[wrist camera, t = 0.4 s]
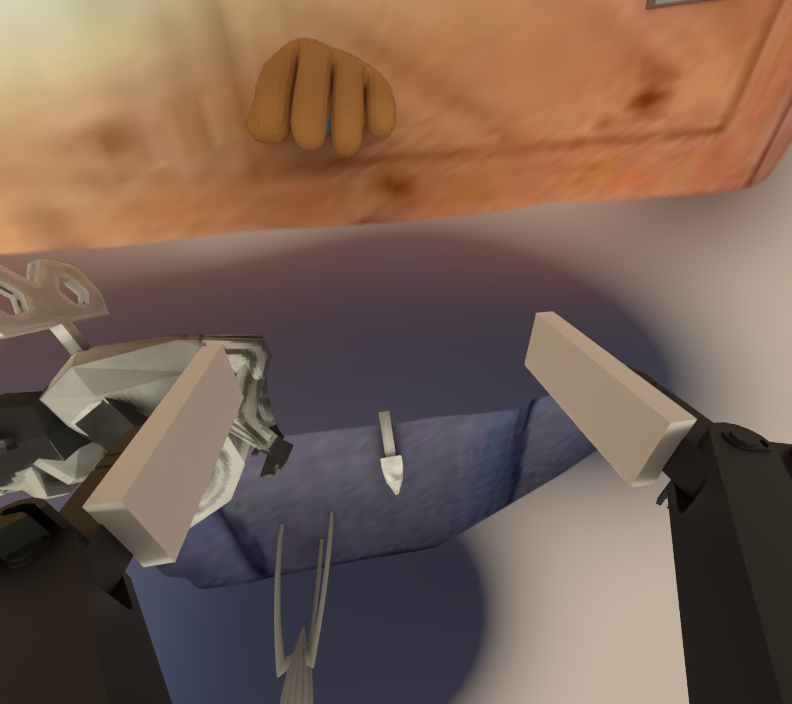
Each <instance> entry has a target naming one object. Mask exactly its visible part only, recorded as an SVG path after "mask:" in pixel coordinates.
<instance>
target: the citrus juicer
mask: <svg viewBox="0 0 792 704" xmlns="http://www.w3.org/2000/svg"><path fill="white" fill-rule="evenodd" d="M333 519H334V512H333V511H331V512H330V520H329V533H328V543H327V553H326V562H325V570H324V578H323V585H322V592H321V599H320V605H319V611H318V617H317V623H316V628H315V621H316V613H317V604H318V595H319V586H320V576H321V566H322V554H323V539H320V546H319V558H318V569H317V580H316V589H315V598H314V607H313V616H312V623H311V630H310V638H309V644H308V645H307V639H306V634H305V629H304V626H303V628H302V630H301V633H300V636H299V639H298V641H297V644H296V647H295V650H294V652H293V653H292V654H290V655H289V656H287V657H285V656H284V649H283V641H282V631H281V613H280V572H281V554H282V542H283V532H284V525H285V524H281V525H280V531H279V538H278V547H277V558H276V573H275V598H274V625H275V653H276V670H277V677H279V676H280V675H282V674H283V673H284V672H285V671H288V672H287V675H286V679H285V683H284V687H283V691H282V696H281V700H280V704H313V682H312V671H311V668H314V663H315V657H316V652H317V646H318V641H319V635H320V629H321V622H322V616H323V610H324V603H325V596H326V589H327V581H328V573H329V565H330V555H331V545H332V534H333ZM314 629H315V633H314ZM313 636H314V638H313Z"/></svg>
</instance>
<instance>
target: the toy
mask: <svg viewBox="0 0 792 704" xmlns="http://www.w3.org/2000/svg"><path fill="white" fill-rule="evenodd" d="M59 283H64V284H65V285H66V286H67V287H68V288H69V289H71V290H72V291H73V292H74V293H75V294H77V295H78V299H79V304H75V303H74V302H73V301H71V300H70V299H69V298H68V297H66V296H65V295H64V294H63V293H62V292H61V291H59ZM0 294H3V295H4V296H6V297H8V298H10V300H11V302H12V305H13V308H14V311H15V314H16V315H12V316H11V315H9V314H8V313H6V312H3V311H2V310H0V339H5V338H9V337H14V336H19V335H23V334H28V333H32V332H37V331H42V330H46V329H50V330H51V331H52V332H53V333H54V334H55V336H56V337H57V338H58V340H59V341H60V342H61V343H62V344H63V346H64V347H65V348H66V349H67V351H68V352H69V353H70V354H71V358H70V359H69V360H68V361H67V362H66V364H65V365H64V366H63V367H62V369H61V370H60V371H59V372H58V373H57V375H56V376H55V377H54V378H53V380H52V381H51V382H50V383H49V385H48V386H47V387H46V388H45V389H44V391H40V392H23V393H5V394H2V395H0V496H1V495H4V494H5V493H8V492H14V491H19V490H24V491H26V492H27V493H29V494H30V495H31V496H33V497H34V498H42V499H48V498H53V497H58V496H63V495H66V494H68V493H71V492H72V491H73V490H74V489H75V487H76V486H77V485H78V484H79V483H80V482H82V481H84V480H85V479H86V478H87V476H88V475H89V474H90V473H91V471H92V470H95V466H96V465H97V464H98V463H99V461H100V460H101V459H102V458H104V457H105V454H106V451H105V449H106V450H107V451H108V450H109V449H110V448H111V446H112V445H113V444H114V443H115V441H116V440H117V439H118V438H120V437H121V436H122V435H124V434H125V433H126V432H127V431H129V430H130V429H131V428H132V427H134V426H140V425H144V424H145V422H146V421H147V420H148V418H149V417H150V416H151V414H152V413H153V412H154V410H155V409H156V407H157V406H158V405H159V403H160V402H161V401H162V399H163V398H164V397H165V395H166V394H167V393H168V391H169V390H170V389H171V387H172V386H173V385H174V383H175V382H176V381H177V379H178V378H179V377H180V375H181V374H182V373H183V371H184V370H185V369H186V367H187V366H188V365H189V363H190V362H191V361H192V359H193V358H194V357H195V355H196V354H197V353H198V351H199V350H200V349H201V347H202V346H211V345H221V344H223V347H224V349H225V352H226V354H227V357H228V359H229V362H230V364H231V367H232V369H233V372H234V374H235V377H236V379H237V382H238V384H239V387H240V389H241V392H242V394H243V397H244V398H243V400H242V403H241V405H240V408H239V410H238V412H237V415H236V417H235V420H234V422H233V424H232V427H231V429H230V432H229V434H228V436H227V439H226V441H225V444H224V446H223V448H222V451H221V453H220V456H219V458H218V460H217V463H216V465H215V468H214V470H213V472H212V475H211V477H210V479H209V482H208V484H207V487H206V489H205V491H204V494H203V496H202V499H201V501H200V503H199V506H198V508H197V511H196V513H195V515H194V518H193V520H192V523H191V525H190V527H189V528H191V527H192V526H194V525H195V524H197V523H198V522H200V521H201V520H203V519H204V518H205V517H207V516H208V515H210V514H211V513H213V512H214V511H216V510H217V509H219V508H220V507H222V506H223V505H224V504H226V503H227V502H229V501H230V500H231V498H232V496H233V493H234V491H235V488H236V486H237V483H238V481H239V478H240V476H241V473H242V471H243V468H244V465H245V463H244V462H245V459H246V455H247V452H248V449H249V446H250V445H252V446H254V447H255V449H254V451H253V452H252V453H251V454H252V456H253V457H255V456H257V455H259V454H262V453H265V454H267V458H266V461H265V463H264V466H263V469H262V472H261V475H260V477H262V478H267V477H273V476H277V475H278V474H279V472H280V471H281V469H282V468H283V466H284V465H285V463H286V462H287V459H288V457H289V455H290V452H291V450H292V448H293V444H290V443H288V442H286V441H284V440H283V438H284V436H283V435H282V433H281V432H280V430H279V429H278V426H277V423H276V420H275V417H274V414H273V411H272V408H271V405H270V402H269V399H268V392H267V380H266V373H267V370H268V367H269V364H270V361H271V358H272V356H271V354H270V352H269V350H268V347H267V345H266V343H265V341H264V338H263V336H262V334H205V335H203V334H202V335H169V336H162V337H156V338H149V339H143V340H136V341H130V342H123V343H116V344H109V345H103V346H96V347H91V346H90V345H89V344H88V343H87V341H86V340H85V339H84V337H83V336H82V335H81V333H80V332H79V331H78V330H77V328H76V327H75V326H74V323H78V322H83V321H88V320H92V319H97V318H101V317H103V316H105V315H108V314H109V312H108V309H107V306H106V304H105V301H104V298H103V295H102V293H101V292H100V291H99V289H97V287H96V286H95V285H94V284H93V283H92V282H91V281H90V280H89V279H88V278H87V277H86V276H85V275H84V274H83V273H82V272H81V271H80V270H79V269H78V268H77V267H76V266H75V265H72V264H67V263H62V262H57V261H52V260H47V259H42V258H39V259H37V260H34V261H32V262H29V263H28V269H27V277H26V279H25V278H23V277H22V276H20V275H18V274H16V273H14V272H13V271H11V270H9V269H7V268H5V267H3V266H2V265H0Z"/></svg>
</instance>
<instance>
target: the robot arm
mask: <svg viewBox="0 0 792 704" xmlns="http://www.w3.org/2000/svg"><path fill="white" fill-rule="evenodd" d="M525 366H526V367H527V368H528V369H529V370H530V372H531V373H532V374H533V375H534V376H535V378H536V379H537V380H538V381H539V382H540V383H541V384H542V386H543V387H544V388H545V389H546V390H547V391H548V393H549V394H550V395H551V396H552V397H553V398H554V400H555V401H556V402H557V403H558V404H559V405H560V407H561V408H562V409H563V410H564V411H565V412H566V413H567V415H568V416H569V417H570V418H571V419H572V420H573V422H574V423H575V424H576V425H577V426H578V427H579V429H580V430H581V431H582V432H583V433H584V434H585V435H586V437H587V438H588V439H589V440H590V441H591V442H592V444H593V445H594V446H595V447H596V448H597V449H598V451H599V452H600V453H601V454H602V455H603V456H604V458H605V459H606V460H607V461H608V462H609V463H610V464H611V466H613V468H614V469H615V470H616V471H617V473H618V474H619V475H620V476H621V477H622V478H623V479H624V481H625V482H626V483H627V484H628V485H629V486H630V488H631V487H637V486H644V485H650V484H654V482H655V481H656V479H657V478H658V476H659V475H660V473H661V472H662V471H663V472H664V473H665V474H666V475H667V476H668V477H669V478H670V479H671V480H670V482H669V483H668V485H667V486H666V487H665V489H664V490H663V491H662V493H661V494H660V496H659V497H658V498H657V503H656V504H658V505H661V504H662V503H663V502H664V500H665V499H667V498H668V507H667V508H668V509H669V514H670V524H671V534H672V543H673V553H674V561H675V570H676V581H677V590H678V600H679V610H680V619H681V629H682V638H683V648H684V657H685V666H686V676H687V686H688V695H689V704H792V444H784V443H774V442H769V441H768V440H766V439H765V438H764V437H762V436H761V435H759V434H757V433H755V432H753V431H751V430H749V429H747V428H744V427H741V426H738V425H735V424H730V423H725V422H722V423H713V422H712V421H710V420H709V419H707V418H706V417H705V416H703V415H702V414H700V413H699V412H698V411H696V410H695V409H694V408H692V407H691V406H689V405H688V404H687V403H685V402H684V401H682V400H681V399H680V398H678V397H677V396H676V395H674V394H673V393H669V390H667V389H666V388H665V387H663V386H662V385H658V382H656V381H655V380H653V379H652V378H651V377H649V376H648V375H647V374H645V373H643V372H641V371H639V370H637V369H634V368H632V367H630V366H625V365H624V364H623V363H621V362H620V361H619V360H617V359H616V358H614V357H613V356H612V355H611V354H609V353H608V352H606V351H605V350H604V349H602V348H601V347H600V346H598V345H597V344H596V343H594V342H593V341H592V340H590V339H589V338H588V337H586V336H585V335H584V334H582V333H581V332H580V331H578V330H577V329H576V328H574V327H573V326H571V325H570V324H569V323H568V322H566V321H565V320H563V319H562V318H561V317H559V316H558V315H557V314H555V313H554V312H543V313H536V317H535V321H534V326H533V330H532V334H531V339H530V343H529V347H528V352H527V356H526V360H525ZM243 398H244V397H243V394H242V392H241V389H240V387H239V384H238V382H237V379H236V377H235V374H234V372H233V369H232V367H231V364H230V362H229V359H228V357H227V354H226V352H225V349H224V347H223V344H221V345H211V346H202V347H201V349H200V350H199V351H198V353H197V354H196V355H195V357H194V358H193V359H192V361H191V362H190V363H189V365H188V366H187V367H186V369H185V370H184V371H183V373H182V374H181V375H180V377H179V378H178V379H177V381H176V382H175V383H174V385H173V386H172V387H171V389H170V390H169V391H168V393H167V394H166V395H165V397H164V398H163V399H162V401H161V402H160V403H159V405H158V406H157V407H156V409H155V410H154V412H153V413H152V414H151V416H150V417H149V418H148V420H147V421H146V422H145V424H144V425H140V426H134V427H132V428H131V429H130V430H129V431H127V432H126V433H125V434H124V435H122V436H121V437H120V438H118V439H117V440H116V441H115V443H114V444H113V445H112V446H111V448H110V449H109V450H108V451H107V453H106V454H105V457H104V458H102V459H101V460H100V461H99V463H98V464H97V465H96V466H95V470H92V471H91V473H90V474H89V475H88V476H87V478H86V479H85V480H84V481H83V483H82V484H81V485H80V486H79V488H78V489H77V490H76V491H75V493H74V494H73V495H72V496H71V498H70V499H69V500H68V501H67V502H66V504H65V505H64V506H63V507H62V509H61V510H60V511H59V512H57V511H56V510H55V509H54V508H53V507H52V506H51V505H49V504H48V503H47V502H46V501H45V500H44V499H42V498H34V497H32V498H28V499H23V500H19V501H16V502H14V503H11V504H9V505H6V506H4V507H2V508H0V704H172V702H171V699H170V696H169V693H168V690H167V687H166V684H165V681H164V678H163V675H162V671H161V669H160V665H159V662H158V659H157V656H156V653H155V650H154V648H153V645H152V641H151V638H150V635H149V632H148V629H147V627H146V623H145V620H144V617H143V615H142V611H141V608H140V605H139V602H138V599H137V596H136V593H135V590H134V587H133V584H132V581H131V578H130V577H129V576H128V575H127V573H126V572H125V570H126V568H127V566H128V564H129V562H130V560H131V559H132V557H134V558H135V559H136V560H137V561H138V562H139V563H140V564H141V565H142V566H143V567H147V566H154V565H160V564H166V563H172V562H175V561H176V558H177V556H178V554H179V551H180V549H181V547H182V544H183V542H184V539H185V537H186V535H187V532H188V530H189V527H190V525H191V523H192V520H193V518H194V515H195V513H196V511H197V508H198V506H199V503H200V501H201V499H202V496H203V494H204V491H205V489H206V487H207V484H208V482H209V479H210V477H211V475H212V472H213V470H214V468H215V465H216V463H217V460H218V458H219V456H220V453H221V451H222V448H223V446H224V444H225V441H226V439H227V436H228V434H229V432H230V429H231V427H232V424H233V422H234V420H235V417H236V415H237V412H238V410H239V408H240V405H241V403H242V400H243Z"/></svg>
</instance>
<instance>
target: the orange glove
mask: <svg viewBox="0 0 792 704" xmlns="http://www.w3.org/2000/svg"><path fill="white" fill-rule="evenodd" d="M395 120H396V107H395V100H394V97H393V94H392V91H391V87H390V86H389V84H388V82H387V81H386V79H385V78H384V77H383V76H382V75H381V74H380V73H379V72H378V71H377V70H375V69H374V68H373V67H371V66H370V65H368V64H367V63H365V62H364V61H362V60H360V59H359V58H357V57H355V56H353V55H351V54H349V53H346V52H343V51H341V50H338V49H335V48H333V47H330V46H328V45H326V44H324V43H322V42H319V41H317V40H313V39H309V38H298V39H296V40H293V41H291V42H289V43H288V44H286V45H285V46H284V47H282V48H281V49H280V50H279V51H278V52H276V53H275V54H274V55H273V56H272V57H271V58H270V59H269V60H268V62H267V63H266V64H265V65H264V66H263V68H262V70H261V73H260V75H259V77H258V80H257V84H256V89H255V97H254V102H253V103H252V105H251V108H250V110H249V112H248V116H247V120H246V127H247V130H248V132H249V133H250V135H251V136H252V137H253V138H254V139H255V140H257V141H259V142H263V143H271V142H274V143H275V142H281V141H283V140H285V139H286V137H287V135H288V133H289V129H290V124H291V129H292V134H293V137H294V139H295V141H296V143H297V145H298V146H300V147H301V148H302V149H304V150H307V151H316V150H318V149H320V148H321V147H322V145H323V144H324V140H325V137H326V131H327V130H329V131H330V135H331V140H332V144H333V146H334V148H335V150H336V151H337V152H338V153H339V154H341V155H344V156H352V155H354V154H356V153H357V151H358V150H359V148H360V146H361V142H362V136H363V126H367V129H368V131H369V132H370V134H371V135H373V136H374V137H376V138H378V139H383V138H386V137H388V136H389V135H390V134H391V133H392V131H393V129H394V126H395Z"/></svg>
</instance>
